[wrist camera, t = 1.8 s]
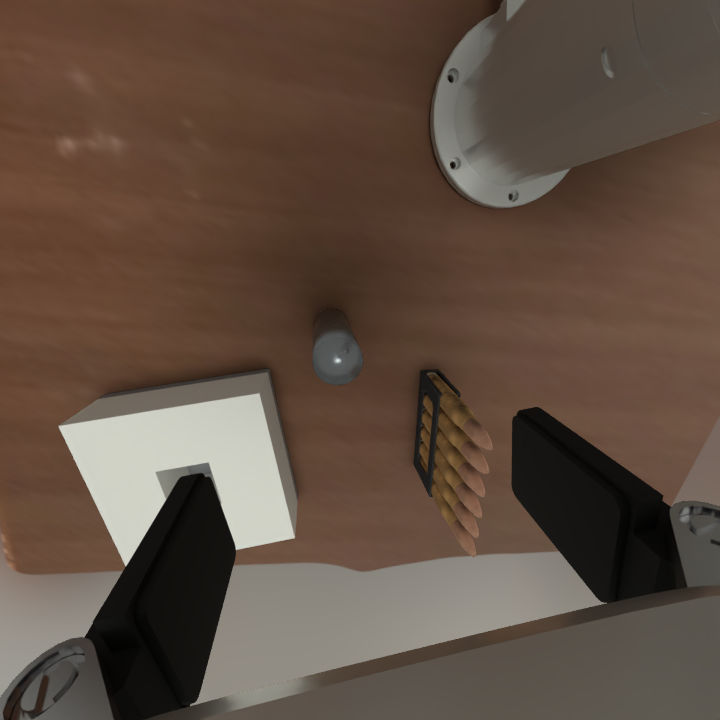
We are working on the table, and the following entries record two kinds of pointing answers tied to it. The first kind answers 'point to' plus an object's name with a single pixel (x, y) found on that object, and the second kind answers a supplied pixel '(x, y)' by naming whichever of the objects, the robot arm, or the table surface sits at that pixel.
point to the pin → (335, 348)
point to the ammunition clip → (450, 455)
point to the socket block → (188, 455)
